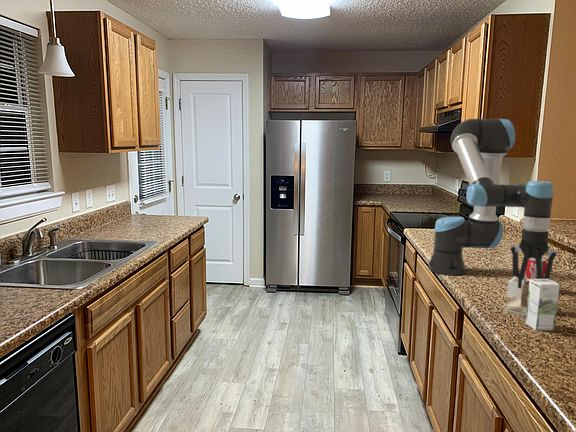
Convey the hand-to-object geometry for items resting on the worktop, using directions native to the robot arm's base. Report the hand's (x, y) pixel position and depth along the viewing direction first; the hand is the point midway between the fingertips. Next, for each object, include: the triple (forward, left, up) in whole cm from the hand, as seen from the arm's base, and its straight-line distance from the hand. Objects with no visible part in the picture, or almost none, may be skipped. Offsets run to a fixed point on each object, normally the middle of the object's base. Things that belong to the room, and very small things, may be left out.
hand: (528, 299), depth 147 cm
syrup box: (+6, -14, -4) cm, 16 cm away
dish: (-4, +13, -4) cm, 14 cm away
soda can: (-3, +26, -4) cm, 26 cm away
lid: (0, 0, -3) cm, 3 cm away
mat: (0, 0, -4) cm, 4 cm away
